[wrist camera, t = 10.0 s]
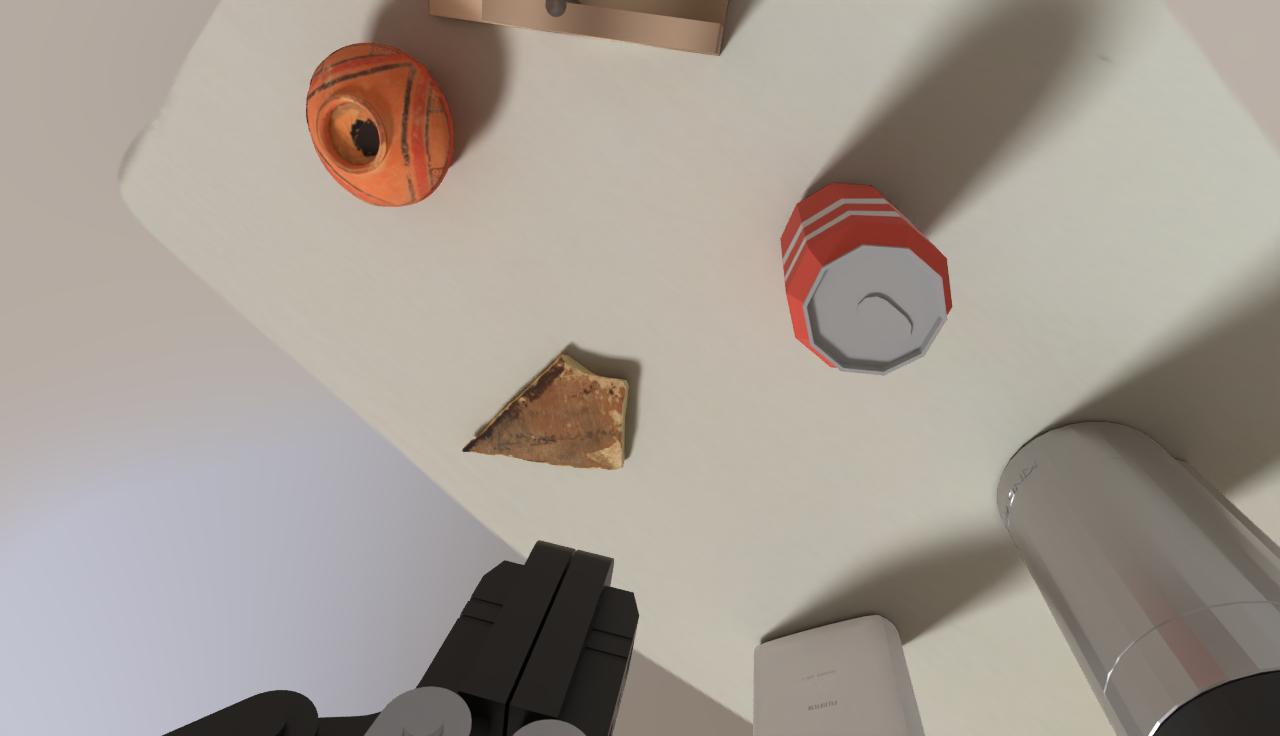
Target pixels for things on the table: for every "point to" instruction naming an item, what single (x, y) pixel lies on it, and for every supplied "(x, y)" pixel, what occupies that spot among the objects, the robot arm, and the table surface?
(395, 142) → the pot
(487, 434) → the shard
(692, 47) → the tan wooden frame
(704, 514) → the table surface
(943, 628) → the table surface
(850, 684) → the photo printer
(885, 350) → the beverage can
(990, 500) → the table surface
